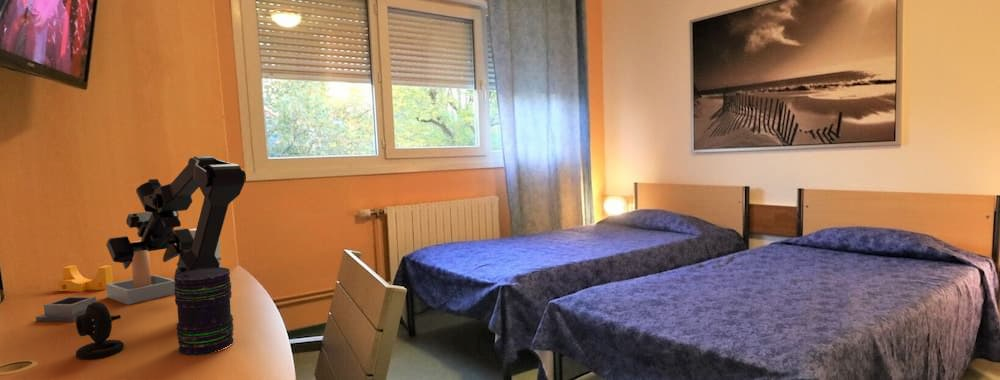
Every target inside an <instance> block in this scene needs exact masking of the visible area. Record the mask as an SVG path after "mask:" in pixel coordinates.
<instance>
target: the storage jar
mask: <svg viewBox="0 0 1000 380" xmlns="http://www.w3.org/2000/svg"><path fill="white" fill-rule="evenodd" d="M230 275H231V271H230V269H229V268H227V267H222V266H221V267H211V268H199V269H193V270H188V271H184V272H180V273H178V274H176V275H175V274H174V275H173V277H174V279H173V280H174V281H175V289H174V293H175V294H174V302H175V305H176V306H177V320H178V322H177V323H176V337H177V338H176V339H177V340H178V341H177V342H178V345H179V346H178V353H179V354H180V355H182V356H187V357H189V356H190V357H196V356H197V357H198V356H205V354H207V355H210V353H212V352H215V351H218V350H221V349H223V348H225V347H227V346H229V345H230V344H232V343H233V341H234V338H233V335H234V329H235V328H234V318H233V314H232V313H231V311H232V310H231V298H232V295H233V293H232V282H231V276H230ZM233 344H234V343H233ZM233 344H232V345H233ZM212 354H213V353H212Z"/></svg>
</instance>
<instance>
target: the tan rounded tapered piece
mask: <svg viewBox="0 0 1000 380" xmlns="http://www.w3.org/2000/svg"><path fill="white" fill-rule="evenodd" d="M135 242H141V239H140V240H134V241H130V243H135ZM132 259H133V261H132V263H131V271H132V273H131V274H132V279H133V287H132V288H133V289H136V288H140V287H145V286H150V285H152V284H151V276H152V275H151V262H150V261H151V258H150V251H147V250H146V251H140V252H134V256H133V258H132Z"/></svg>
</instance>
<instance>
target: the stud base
mask: <svg viewBox="0 0 1000 380" xmlns="http://www.w3.org/2000/svg"><path fill="white" fill-rule="evenodd" d="M94 302H97V297H96V296H67V297H64V298H61V299H59V300H54V301H51V302H49V303H46V304H43V311H44V313H43V314H40V315H37V316H35V322H55V323H57V322H58V323H60V322H61V323H73V322H76V318H77V316H79V315H83V314H85V312H86V308H87V306H88V305H90V304H92V303H94Z"/></svg>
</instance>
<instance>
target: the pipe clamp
mask: <svg viewBox="0 0 1000 380" xmlns="http://www.w3.org/2000/svg"><path fill="white" fill-rule="evenodd" d="M113 276H114V275H113V265H103V266H99V267H97V273H96V275H95V276H94V278H92V279H90V278H86V277H84V276H83V274H81V273H80V271H79V269H78V265H68V266H63V267H62V277H63V279H60V280H57V282H58V292H59V291H69V292H79V293H80V292H85V291H89V290H90V291H95V290H97V291H102V290H103V291H104V290H106V291H107V286H106V284H111V283H114V277H113Z"/></svg>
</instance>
